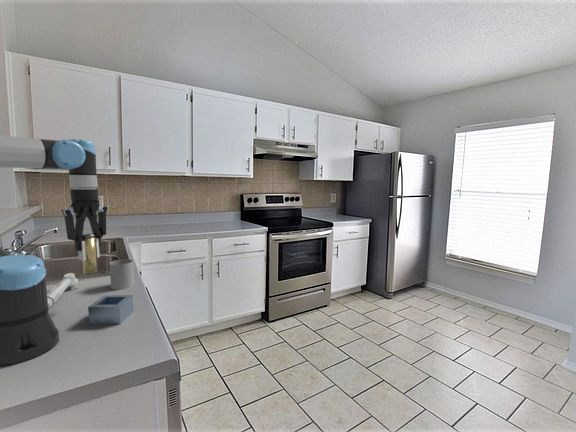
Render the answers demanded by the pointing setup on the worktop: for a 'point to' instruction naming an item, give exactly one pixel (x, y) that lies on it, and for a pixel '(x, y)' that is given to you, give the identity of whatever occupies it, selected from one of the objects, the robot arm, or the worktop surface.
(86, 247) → the olive tall cylinder
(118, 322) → the open blue-gray rectangular box
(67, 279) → the white knobby-ended rod
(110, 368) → the worktop surface
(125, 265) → the cup
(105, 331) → the worktop surface
